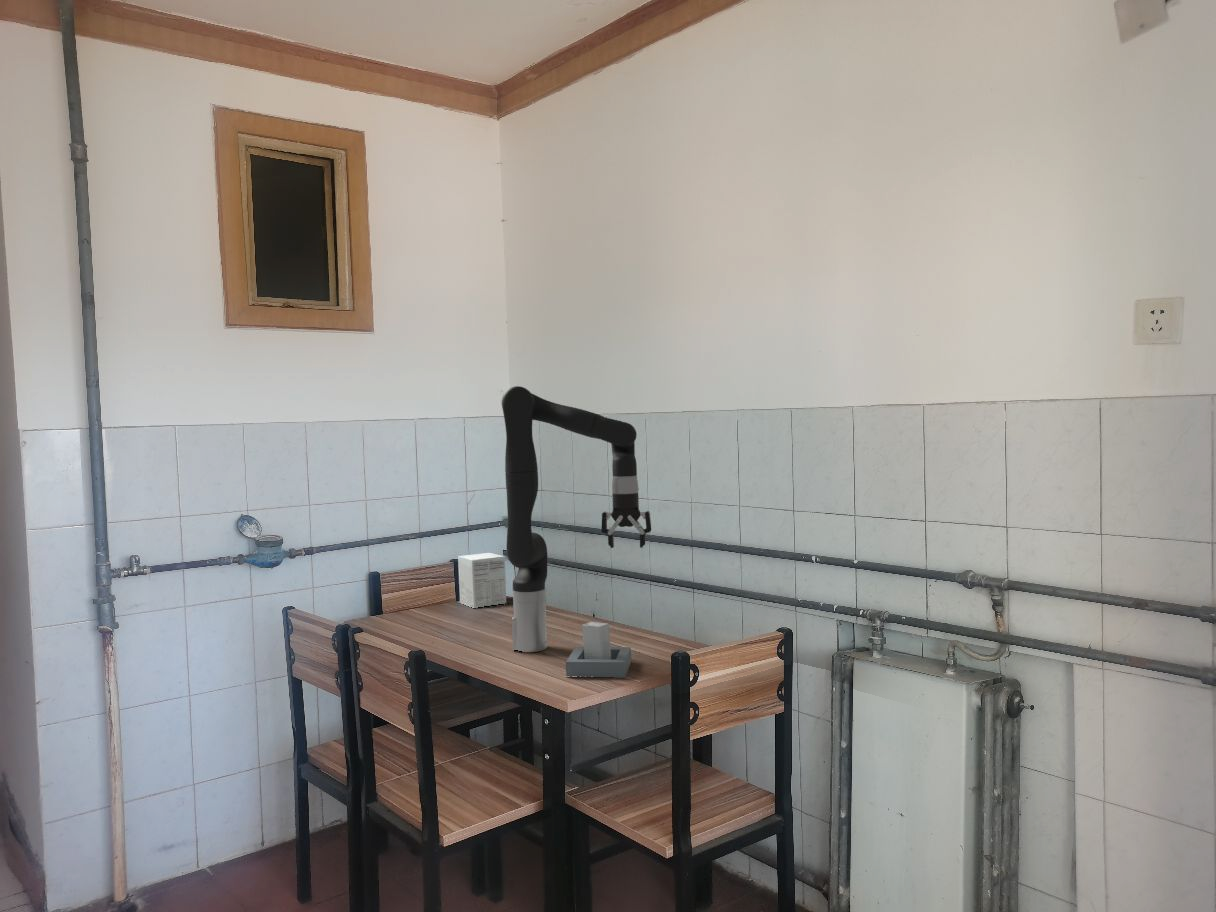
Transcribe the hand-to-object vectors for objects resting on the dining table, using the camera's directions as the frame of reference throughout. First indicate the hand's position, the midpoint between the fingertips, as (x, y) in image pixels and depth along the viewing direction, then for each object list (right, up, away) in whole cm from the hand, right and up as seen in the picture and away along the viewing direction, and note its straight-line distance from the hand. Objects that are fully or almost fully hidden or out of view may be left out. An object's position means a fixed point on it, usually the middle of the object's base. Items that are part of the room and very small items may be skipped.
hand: (627, 547), depth 262 cm
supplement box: (-51, -27, +67) cm, 88 cm away
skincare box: (-8, -30, -25) cm, 39 cm away
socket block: (-8, -29, -25) cm, 39 cm away
